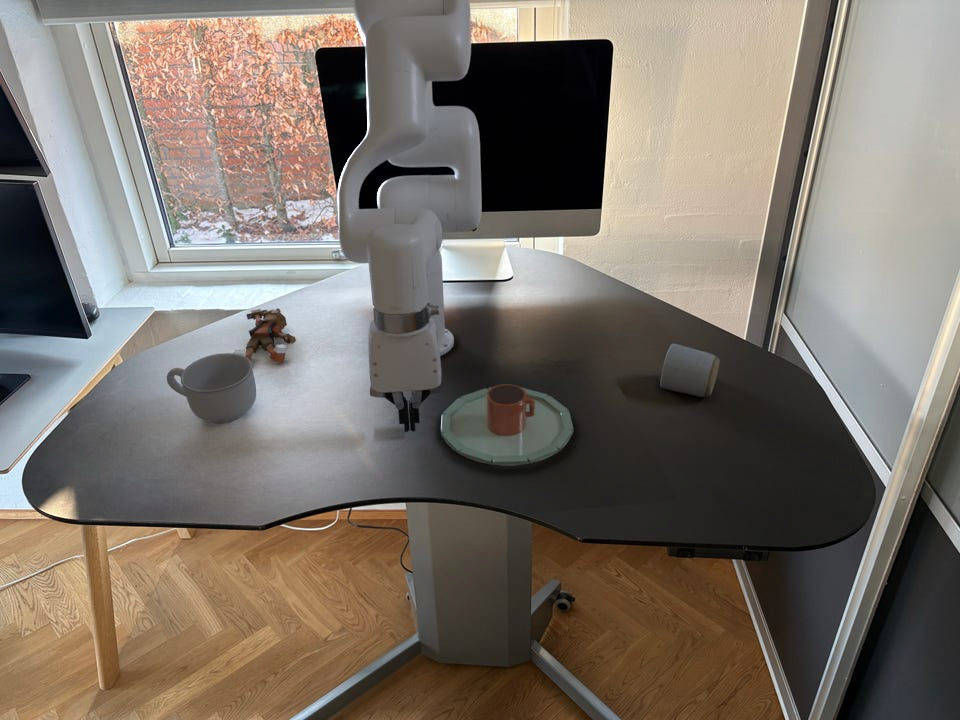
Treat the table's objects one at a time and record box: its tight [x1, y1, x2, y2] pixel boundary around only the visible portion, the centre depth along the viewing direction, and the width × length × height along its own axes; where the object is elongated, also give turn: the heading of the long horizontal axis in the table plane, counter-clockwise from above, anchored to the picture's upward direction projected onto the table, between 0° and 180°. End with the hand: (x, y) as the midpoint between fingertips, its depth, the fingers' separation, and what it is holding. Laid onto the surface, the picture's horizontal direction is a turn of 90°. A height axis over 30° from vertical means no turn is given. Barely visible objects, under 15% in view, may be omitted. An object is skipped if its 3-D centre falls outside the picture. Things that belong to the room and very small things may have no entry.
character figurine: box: [233, 307, 297, 364], centre depth 136 cm, size 12×5×18 cm
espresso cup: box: [486, 383, 535, 436], centre depth 109 cm, size 7×6×6 cm
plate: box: [440, 387, 574, 467], centre depth 110 cm, size 20×20×2 cm
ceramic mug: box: [659, 343, 720, 398], centre depth 119 cm, size 11×8×8 cm
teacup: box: [166, 352, 257, 423], centre depth 115 cm, size 14×11×8 cm
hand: (409, 426), depth 108 cm, fingers closed
